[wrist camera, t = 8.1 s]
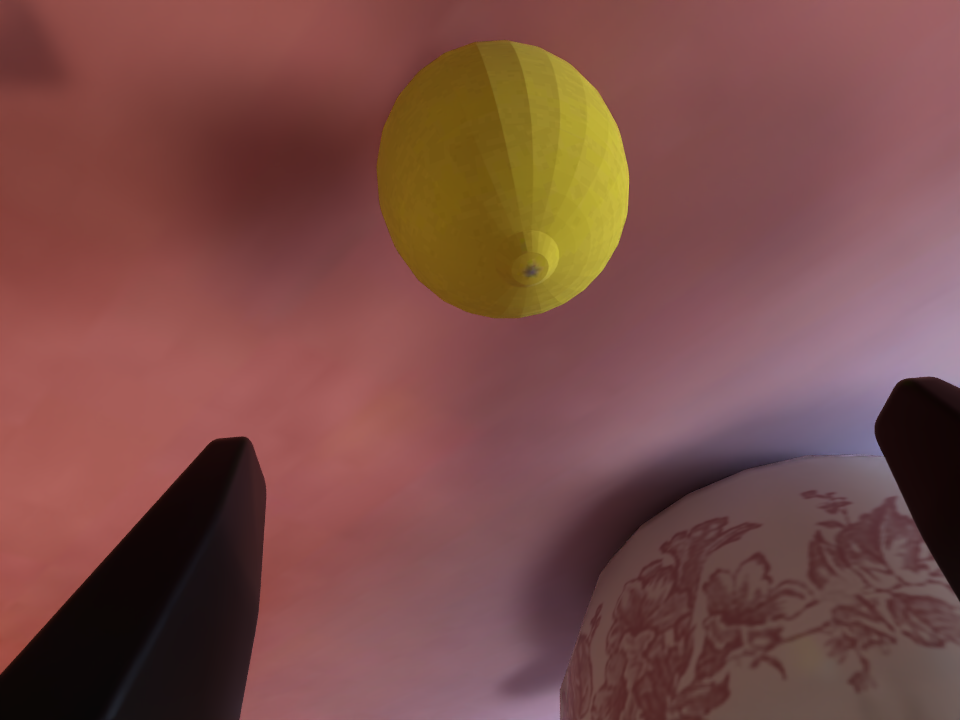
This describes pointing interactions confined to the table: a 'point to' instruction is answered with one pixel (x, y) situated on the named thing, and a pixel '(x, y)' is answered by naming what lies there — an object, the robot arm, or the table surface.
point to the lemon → (502, 179)
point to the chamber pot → (772, 606)
